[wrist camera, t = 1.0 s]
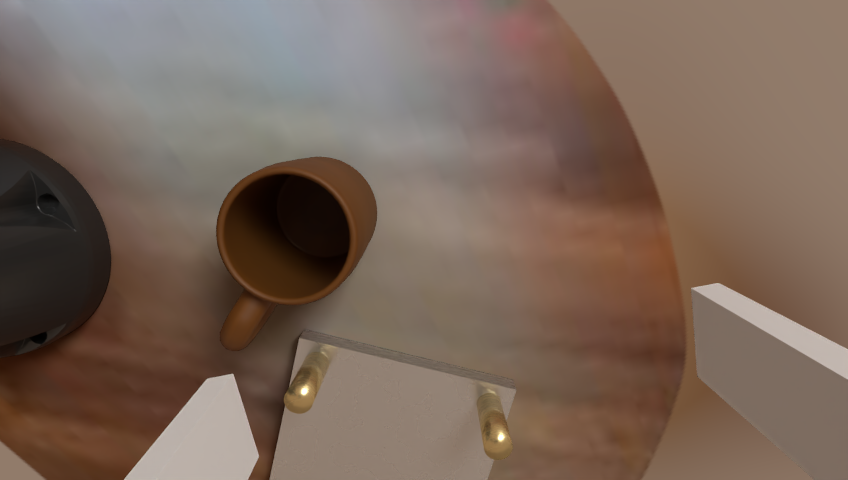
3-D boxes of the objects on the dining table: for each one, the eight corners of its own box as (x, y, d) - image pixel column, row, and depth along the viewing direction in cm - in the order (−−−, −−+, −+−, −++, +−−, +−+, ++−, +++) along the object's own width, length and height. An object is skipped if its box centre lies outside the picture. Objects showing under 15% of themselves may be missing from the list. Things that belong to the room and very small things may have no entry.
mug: (316, 330, 36) (276, 397, 27) (224, 278, 35) (151, 329, 26) (399, 192, 34) (387, 214, 25) (303, 133, 33) (254, 134, 24)
